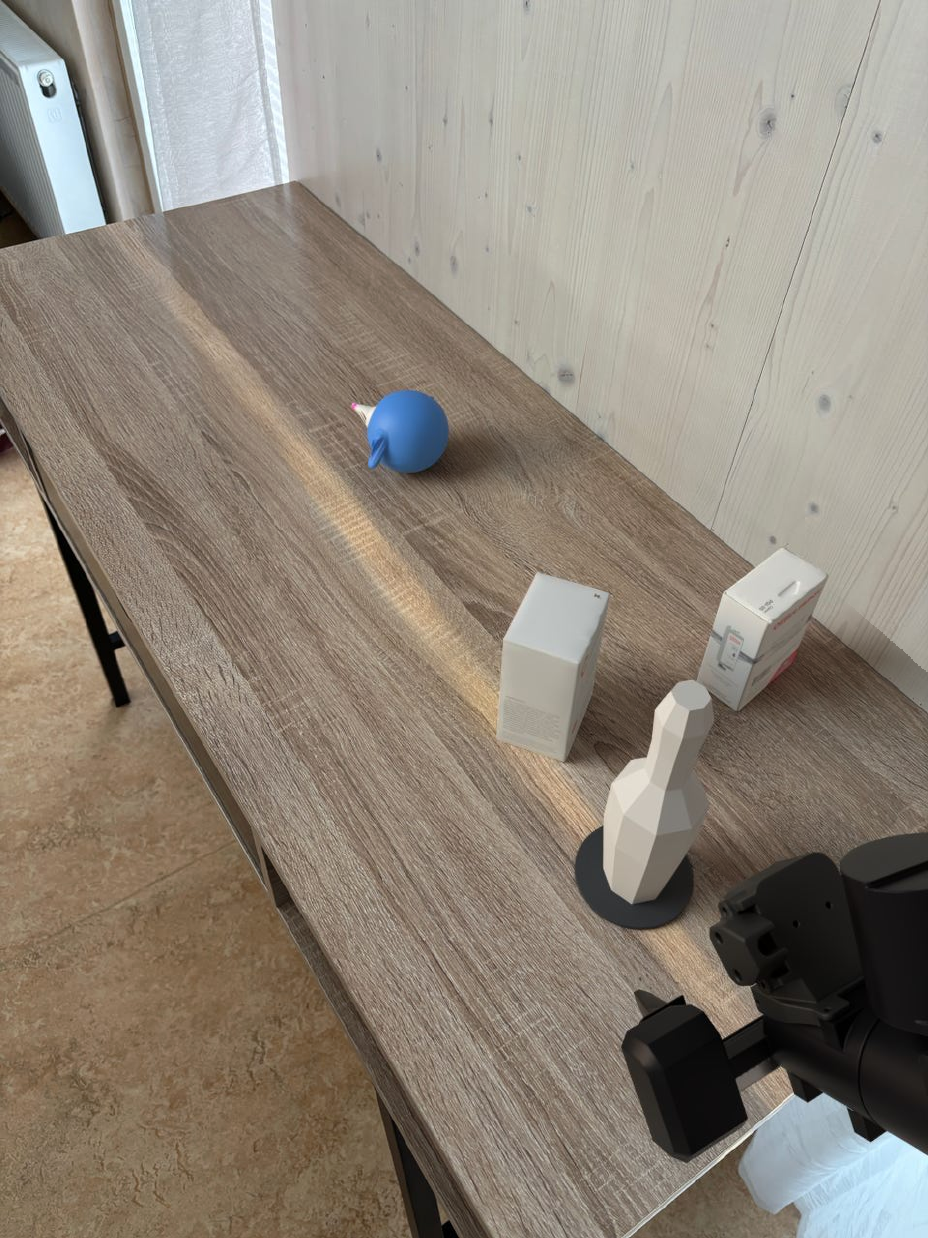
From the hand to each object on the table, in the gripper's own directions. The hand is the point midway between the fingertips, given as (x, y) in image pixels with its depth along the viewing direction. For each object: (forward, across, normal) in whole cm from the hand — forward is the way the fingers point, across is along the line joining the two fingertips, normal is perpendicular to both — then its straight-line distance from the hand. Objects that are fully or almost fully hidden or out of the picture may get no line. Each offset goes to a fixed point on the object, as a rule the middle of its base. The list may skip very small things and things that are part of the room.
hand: (703, 961), depth 59 cm
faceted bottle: (+17, -6, +1) cm, 18 cm away
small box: (+29, -7, -10) cm, 31 cm away
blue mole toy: (+55, -12, -37) cm, 68 cm away
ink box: (+26, -26, -7) cm, 38 cm away
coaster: (+18, -6, +1) cm, 19 cm away
